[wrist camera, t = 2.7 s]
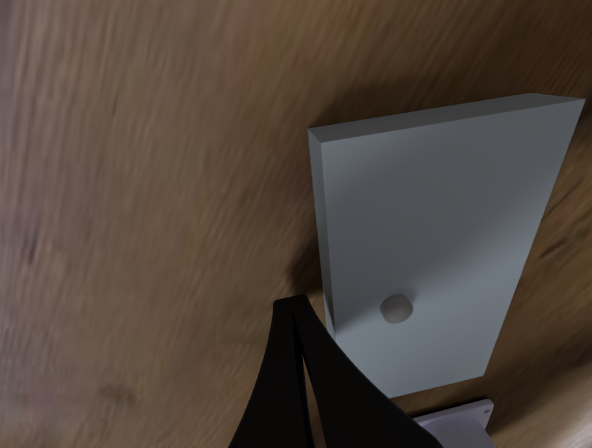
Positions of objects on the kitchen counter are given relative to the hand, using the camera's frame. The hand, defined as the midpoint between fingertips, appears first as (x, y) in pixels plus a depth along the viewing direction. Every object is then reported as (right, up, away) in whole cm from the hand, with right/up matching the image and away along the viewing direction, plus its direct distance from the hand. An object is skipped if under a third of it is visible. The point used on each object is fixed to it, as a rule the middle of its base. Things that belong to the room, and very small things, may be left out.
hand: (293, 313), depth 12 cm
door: (+5, +2, +2) cm, 6 cm away
